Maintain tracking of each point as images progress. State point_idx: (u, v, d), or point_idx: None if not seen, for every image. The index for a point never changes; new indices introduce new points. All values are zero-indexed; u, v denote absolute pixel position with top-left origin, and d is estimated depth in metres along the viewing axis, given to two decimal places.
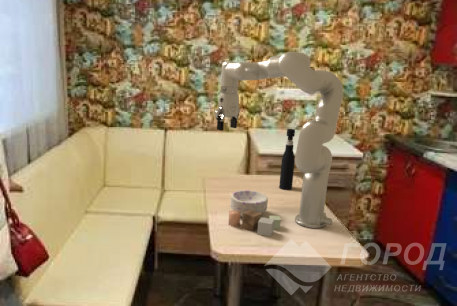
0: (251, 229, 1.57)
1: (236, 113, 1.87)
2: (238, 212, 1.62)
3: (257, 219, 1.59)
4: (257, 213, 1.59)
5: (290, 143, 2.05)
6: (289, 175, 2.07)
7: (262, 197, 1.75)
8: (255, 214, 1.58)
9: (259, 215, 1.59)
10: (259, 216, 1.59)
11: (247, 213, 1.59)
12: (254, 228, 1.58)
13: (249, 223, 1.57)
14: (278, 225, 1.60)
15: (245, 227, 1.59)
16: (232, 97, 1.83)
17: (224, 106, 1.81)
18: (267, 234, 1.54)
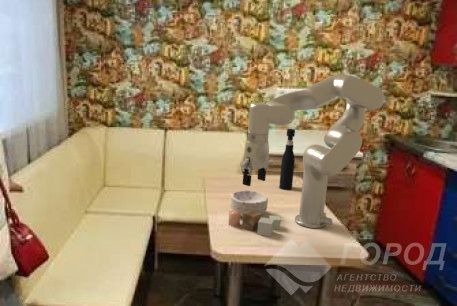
0: (251, 229, 1.57)
1: (265, 164, 1.55)
2: (238, 212, 1.62)
3: (257, 219, 1.59)
4: (257, 213, 1.59)
5: (290, 143, 2.05)
6: (289, 175, 2.07)
7: (262, 197, 1.75)
8: (255, 214, 1.58)
9: (259, 215, 1.59)
10: (259, 216, 1.59)
11: (247, 213, 1.59)
12: (254, 228, 1.58)
13: (249, 223, 1.57)
14: (278, 225, 1.60)
15: (245, 227, 1.59)
16: (261, 146, 1.51)
17: (252, 157, 1.49)
18: (267, 234, 1.54)
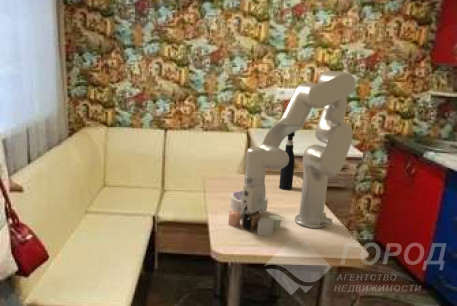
0: (251, 229, 1.57)
1: (262, 206, 1.59)
2: (238, 212, 1.62)
3: (257, 219, 1.59)
4: (257, 213, 1.59)
5: (290, 143, 2.05)
6: (289, 175, 2.07)
7: None
8: (255, 214, 1.58)
9: (259, 215, 1.59)
10: (259, 216, 1.59)
11: (247, 213, 1.59)
12: (254, 228, 1.58)
13: None
14: (278, 225, 1.60)
15: None
16: (258, 190, 1.54)
17: (249, 201, 1.53)
18: (267, 234, 1.54)
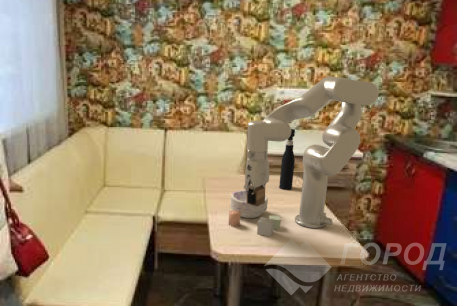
0: (256, 204, 1.55)
1: (266, 180, 1.57)
2: (238, 212, 1.62)
3: (262, 194, 1.57)
4: (261, 188, 1.57)
5: (290, 143, 2.05)
6: (289, 175, 2.07)
7: None
8: (259, 189, 1.56)
9: (263, 189, 1.57)
10: (263, 190, 1.57)
11: (251, 188, 1.57)
12: (259, 203, 1.56)
13: None
14: (278, 225, 1.60)
15: None
16: (261, 163, 1.52)
17: (253, 175, 1.51)
18: (267, 234, 1.54)
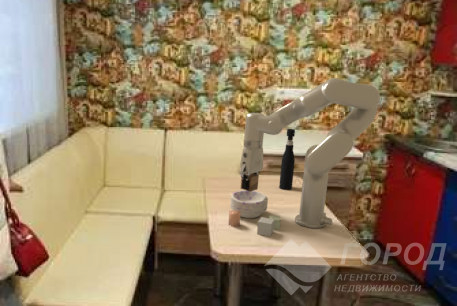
0: (249, 189, 1.69)
1: (260, 168, 1.70)
2: (238, 212, 1.62)
3: (255, 180, 1.70)
4: (255, 175, 1.71)
5: (290, 143, 2.05)
6: (289, 175, 2.07)
7: (262, 197, 1.75)
8: (253, 175, 1.70)
9: (257, 176, 1.70)
10: (257, 177, 1.70)
11: (245, 174, 1.70)
12: (252, 188, 1.69)
13: None
14: (278, 225, 1.60)
15: None
16: (256, 152, 1.66)
17: (248, 162, 1.64)
18: (267, 234, 1.54)
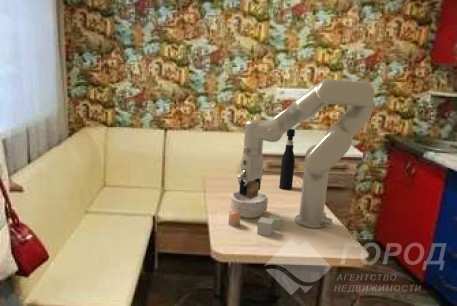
0: (250, 196, 1.69)
1: (260, 175, 1.71)
2: (238, 212, 1.62)
3: (255, 187, 1.71)
4: (255, 182, 1.71)
5: (290, 143, 2.05)
6: (289, 175, 2.07)
7: (262, 197, 1.75)
8: (253, 182, 1.70)
9: (257, 184, 1.71)
10: (257, 185, 1.71)
11: None
12: (252, 195, 1.70)
13: (248, 191, 1.70)
14: (278, 225, 1.60)
15: (244, 195, 1.71)
16: (256, 159, 1.67)
17: (248, 170, 1.65)
18: (267, 234, 1.54)
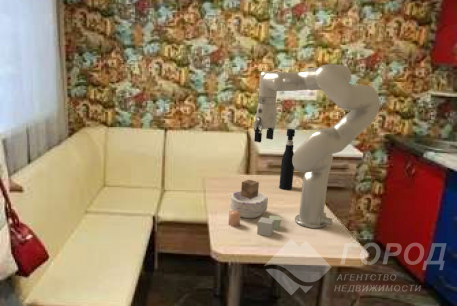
0: (250, 196, 1.69)
1: (273, 124, 1.82)
2: (238, 212, 1.62)
3: (255, 188, 1.71)
4: (255, 182, 1.71)
5: (290, 143, 2.05)
6: (289, 175, 2.07)
7: (262, 197, 1.75)
8: (253, 183, 1.70)
9: (257, 184, 1.71)
10: (257, 185, 1.71)
11: (246, 182, 1.71)
12: (252, 195, 1.70)
13: (248, 191, 1.70)
14: (278, 225, 1.60)
15: (244, 195, 1.71)
16: (270, 108, 1.77)
17: (263, 117, 1.75)
18: (267, 234, 1.54)
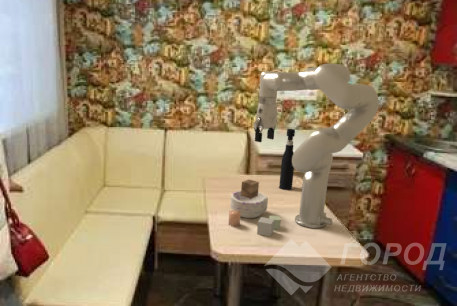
0: (250, 196, 1.69)
1: (274, 124, 1.82)
2: (238, 212, 1.62)
3: (255, 187, 1.71)
4: (255, 182, 1.71)
5: (290, 143, 2.05)
6: (289, 175, 2.07)
7: (262, 197, 1.75)
8: (253, 182, 1.70)
9: (257, 183, 1.71)
10: (257, 184, 1.71)
11: (246, 182, 1.71)
12: (252, 195, 1.70)
13: (247, 191, 1.69)
14: (278, 225, 1.60)
15: (244, 195, 1.71)
16: (271, 108, 1.78)
17: (263, 117, 1.76)
18: (267, 234, 1.54)
